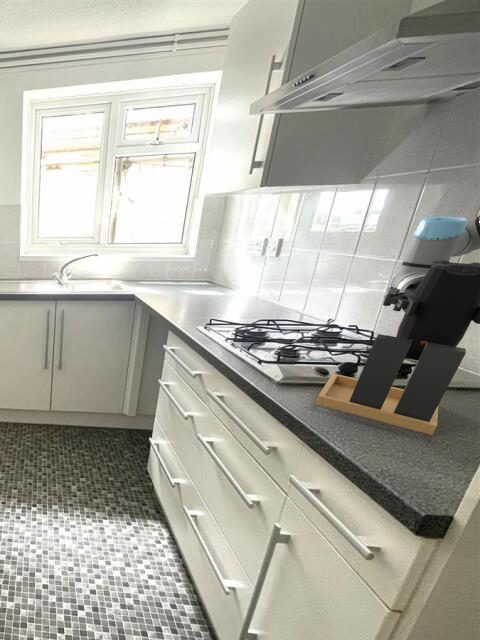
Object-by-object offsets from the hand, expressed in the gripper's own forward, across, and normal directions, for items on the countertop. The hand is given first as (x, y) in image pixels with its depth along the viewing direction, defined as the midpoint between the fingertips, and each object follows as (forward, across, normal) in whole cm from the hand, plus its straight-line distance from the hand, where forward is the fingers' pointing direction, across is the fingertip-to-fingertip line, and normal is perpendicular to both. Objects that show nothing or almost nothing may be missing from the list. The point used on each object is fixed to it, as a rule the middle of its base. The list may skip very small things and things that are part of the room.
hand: (447, 312), depth 78 cm
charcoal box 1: (+3, +6, -22) cm, 22 cm away
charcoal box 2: (+4, -1, -22) cm, 22 cm away
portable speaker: (-5, 0, -11) cm, 12 cm away
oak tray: (-3, +3, -22) cm, 23 cm away
